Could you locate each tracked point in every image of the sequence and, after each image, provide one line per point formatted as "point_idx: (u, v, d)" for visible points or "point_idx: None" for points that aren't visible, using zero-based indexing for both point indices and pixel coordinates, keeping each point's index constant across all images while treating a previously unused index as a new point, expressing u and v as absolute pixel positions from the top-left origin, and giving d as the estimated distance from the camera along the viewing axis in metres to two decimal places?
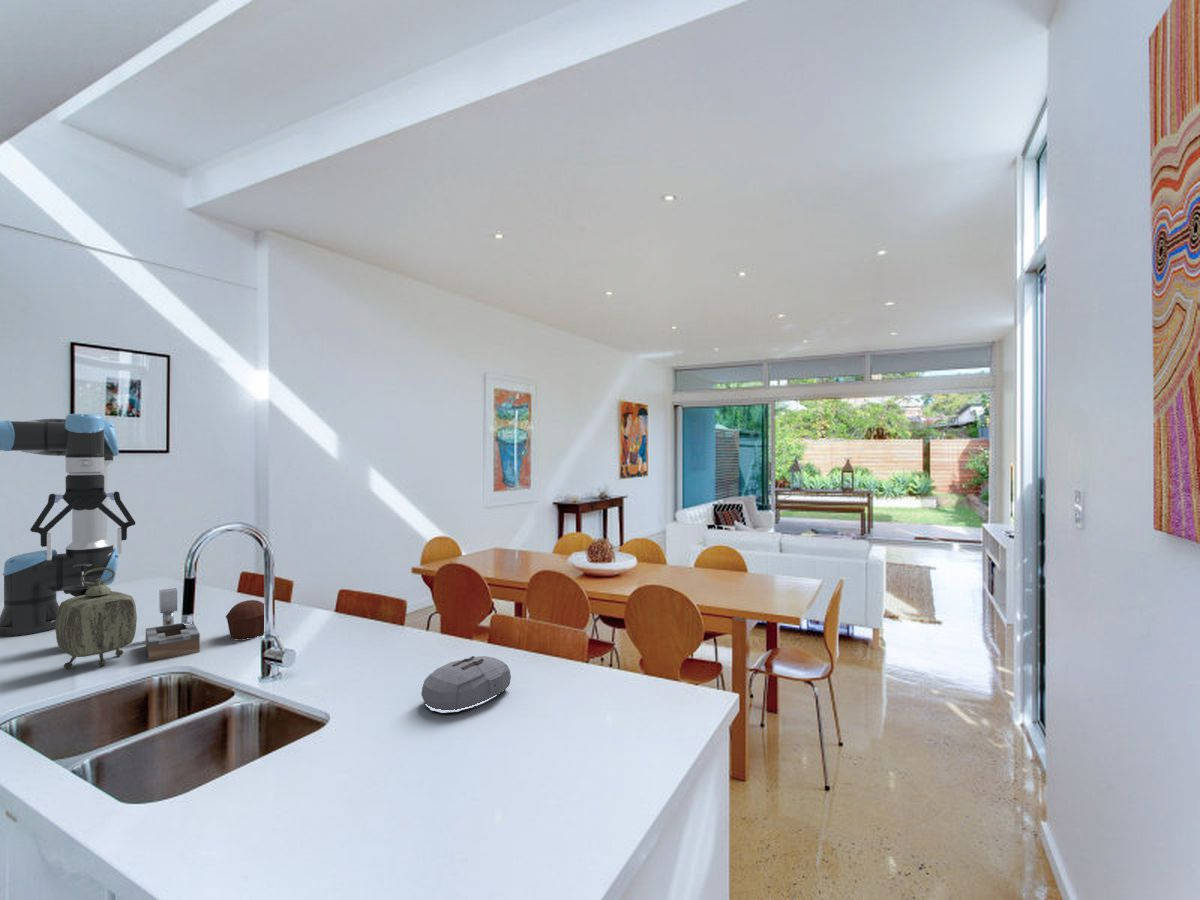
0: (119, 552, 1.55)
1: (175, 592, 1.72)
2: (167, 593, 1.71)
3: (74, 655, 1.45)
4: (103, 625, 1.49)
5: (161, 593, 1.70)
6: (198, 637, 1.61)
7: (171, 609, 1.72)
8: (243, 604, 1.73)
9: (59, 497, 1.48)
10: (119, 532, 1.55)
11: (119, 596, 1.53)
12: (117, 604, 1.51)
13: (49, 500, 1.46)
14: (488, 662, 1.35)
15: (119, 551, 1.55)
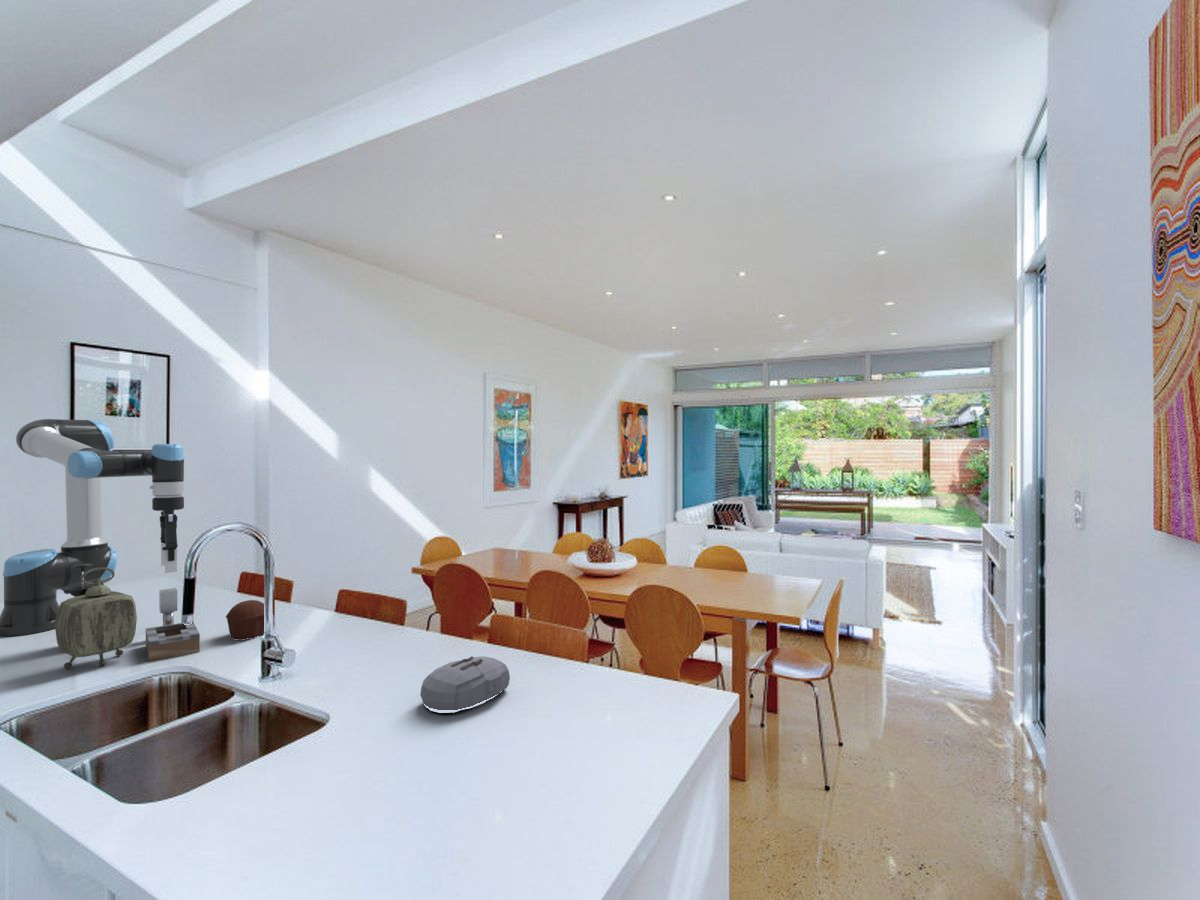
0: (165, 571, 1.66)
1: (175, 592, 1.72)
2: (167, 593, 1.71)
3: (74, 655, 1.45)
4: (103, 625, 1.49)
5: (161, 593, 1.70)
6: (198, 637, 1.61)
7: (171, 609, 1.72)
8: (243, 604, 1.73)
9: None
10: (164, 553, 1.66)
11: (119, 596, 1.53)
12: (117, 604, 1.51)
13: (161, 516, 1.77)
14: (487, 662, 1.35)
15: (165, 570, 1.66)
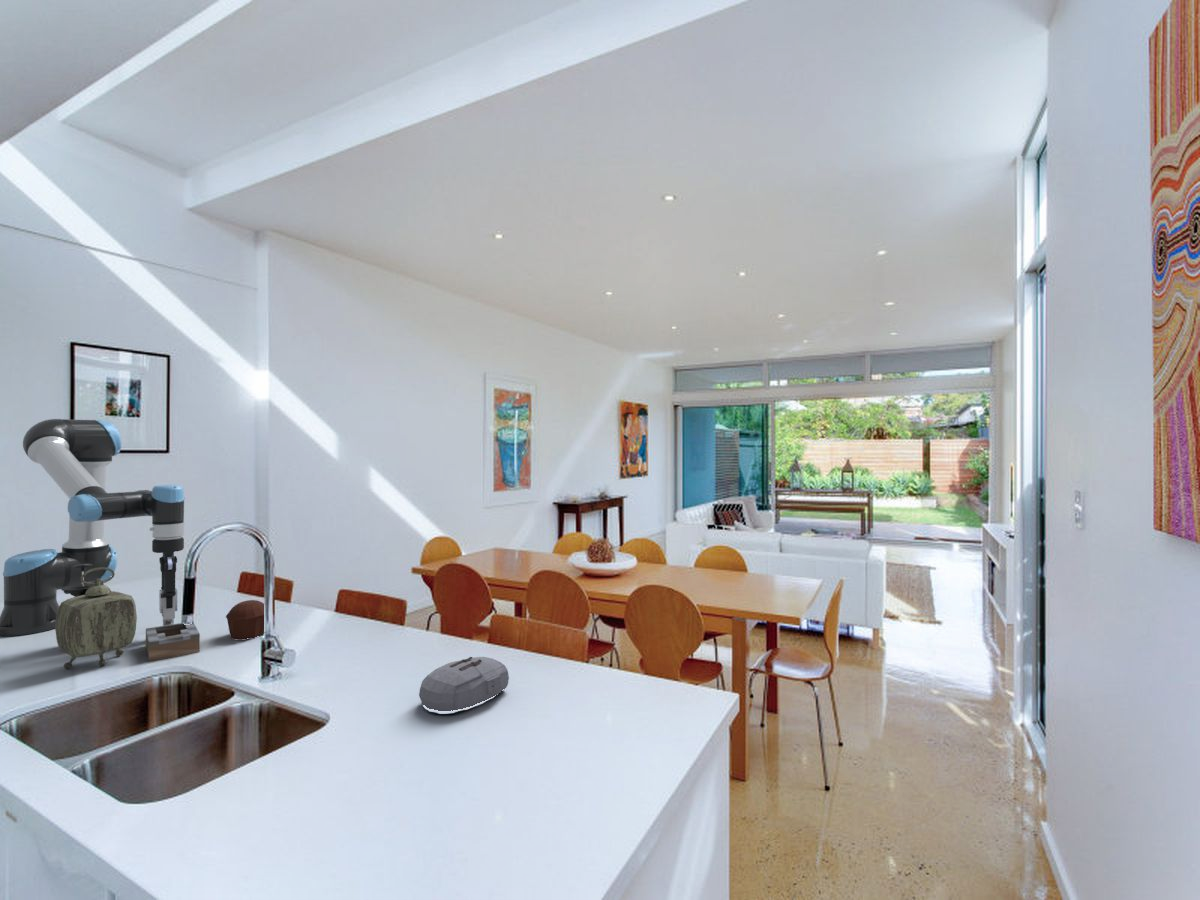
0: (163, 618, 1.70)
1: None
2: None
3: (74, 655, 1.45)
4: (103, 625, 1.49)
5: (161, 593, 1.70)
6: (198, 637, 1.61)
7: None
8: (243, 604, 1.73)
9: None
10: (163, 600, 1.70)
11: (119, 596, 1.53)
12: (117, 604, 1.51)
13: None
14: (486, 663, 1.35)
15: (163, 617, 1.70)
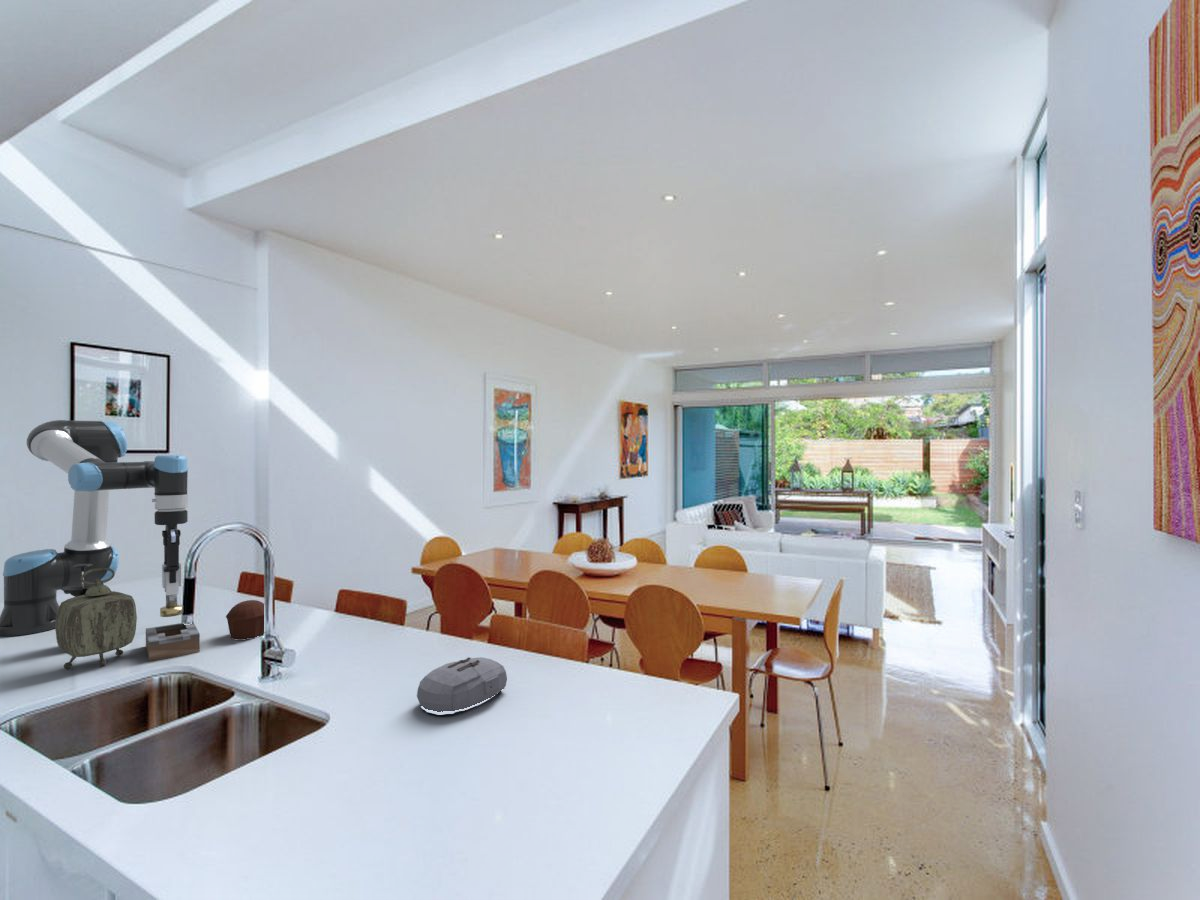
0: (166, 593, 1.63)
1: (179, 566, 1.65)
2: None
3: (74, 655, 1.45)
4: (103, 625, 1.49)
5: (164, 567, 1.63)
6: (198, 637, 1.61)
7: None
8: (243, 604, 1.73)
9: None
10: (166, 574, 1.63)
11: (119, 596, 1.53)
12: (117, 604, 1.51)
13: None
14: (484, 663, 1.35)
15: (166, 592, 1.63)
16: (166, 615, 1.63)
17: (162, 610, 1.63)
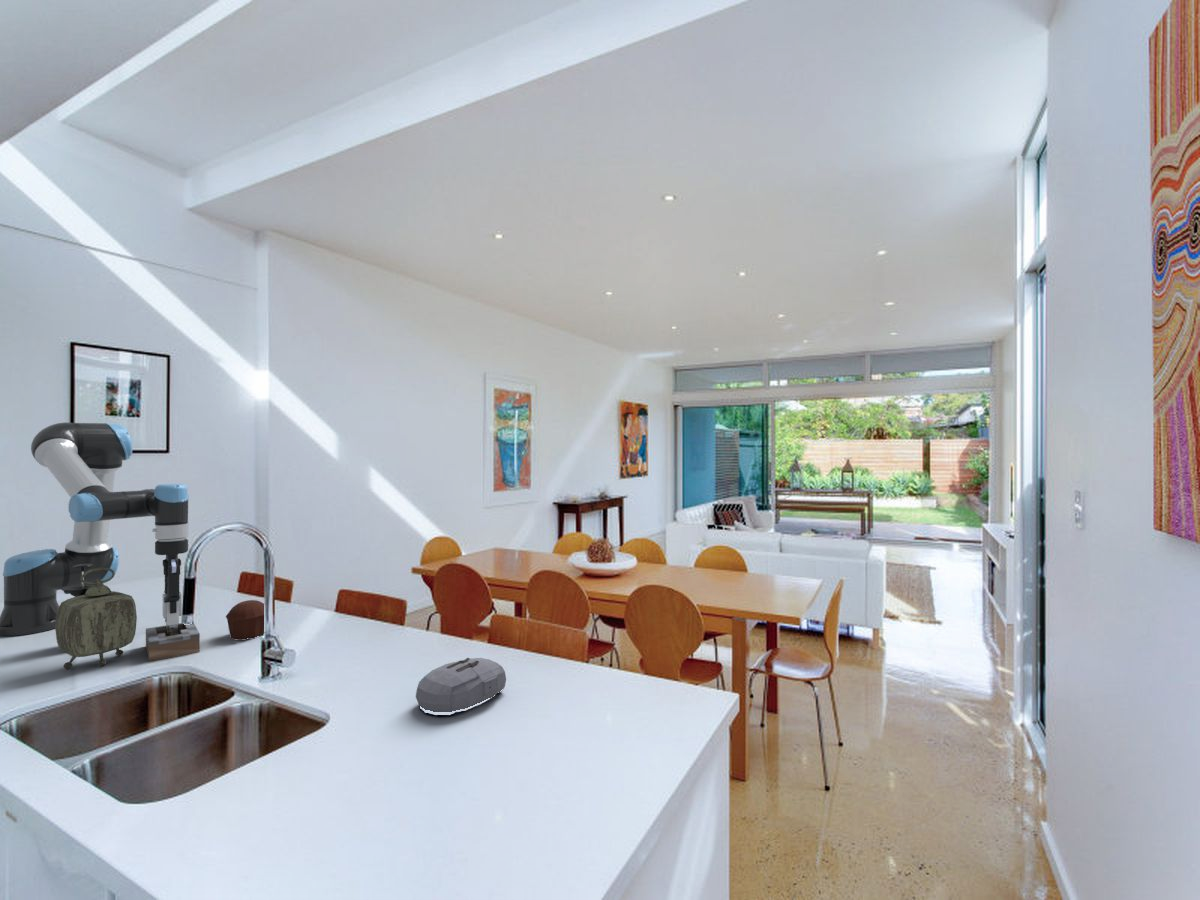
0: None
1: (179, 596, 1.64)
2: None
3: (74, 655, 1.45)
4: (103, 625, 1.49)
5: (164, 597, 1.62)
6: (198, 637, 1.61)
7: None
8: (243, 604, 1.73)
9: None
10: None
11: (119, 596, 1.53)
12: (117, 604, 1.51)
13: None
14: (483, 664, 1.34)
15: None
16: None
17: None
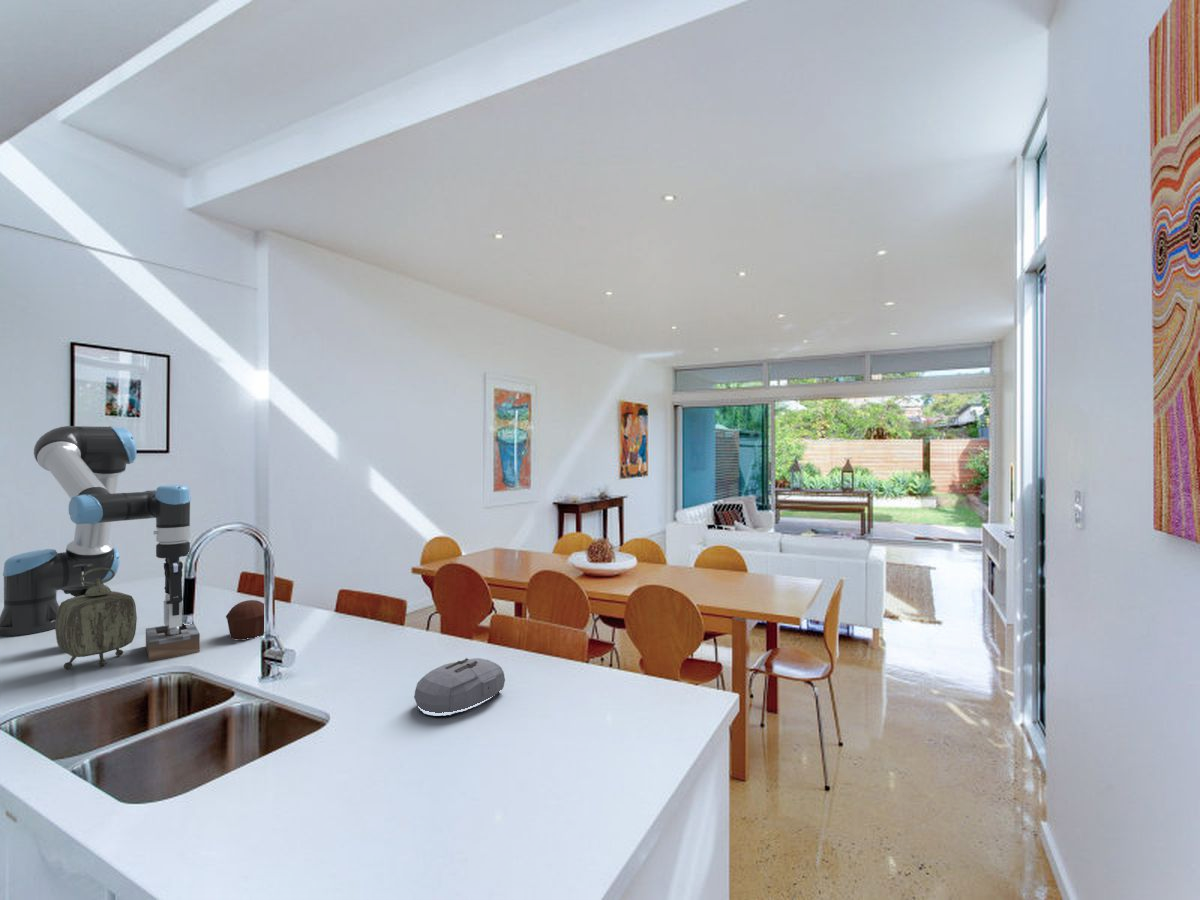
0: (169, 626, 1.56)
1: None
2: None
3: (74, 655, 1.45)
4: (103, 625, 1.49)
5: (166, 604, 1.58)
6: (198, 637, 1.61)
7: None
8: (243, 604, 1.73)
9: None
10: (169, 606, 1.56)
11: (119, 596, 1.53)
12: (117, 604, 1.51)
13: None
14: (482, 664, 1.34)
15: (169, 625, 1.56)
16: None
17: None
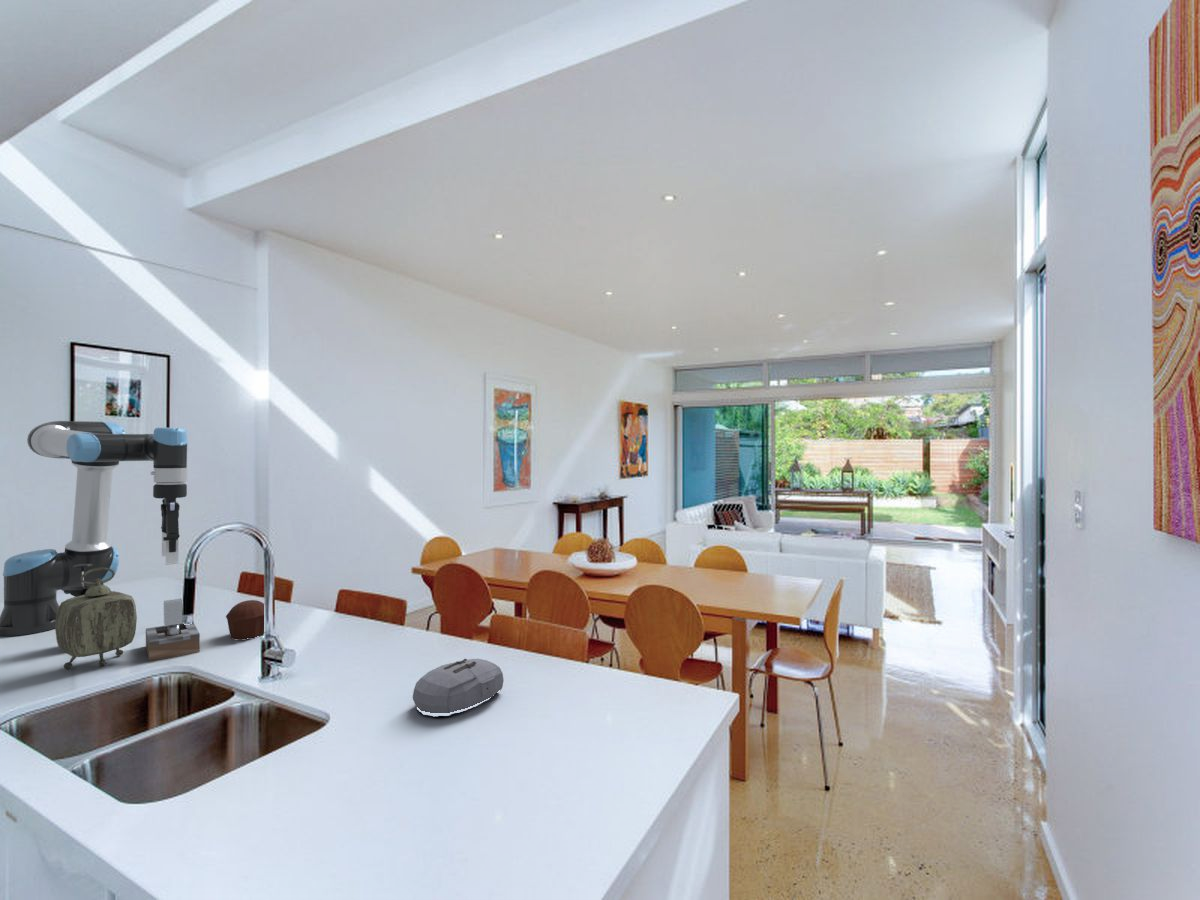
0: None
1: (181, 603, 1.60)
2: (172, 604, 1.59)
3: (74, 655, 1.45)
4: (103, 625, 1.49)
5: (166, 604, 1.58)
6: (198, 637, 1.61)
7: (176, 621, 1.60)
8: (243, 604, 1.73)
9: None
10: (165, 543, 1.57)
11: (119, 596, 1.53)
12: (117, 604, 1.51)
13: (162, 504, 1.67)
14: (480, 665, 1.34)
15: None
16: None
17: None
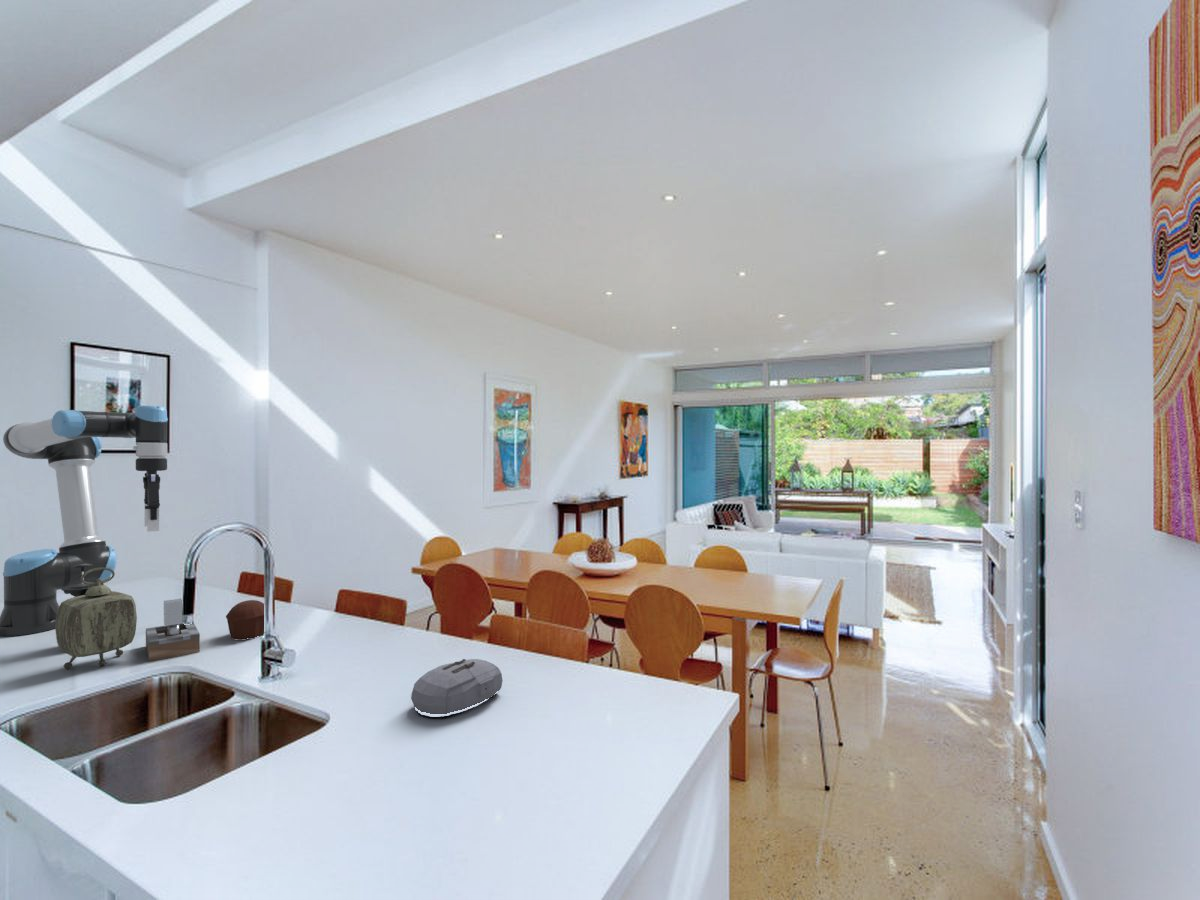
0: (147, 530, 1.69)
1: (181, 603, 1.60)
2: (172, 604, 1.59)
3: (74, 655, 1.45)
4: (103, 625, 1.49)
5: (166, 604, 1.58)
6: (198, 637, 1.61)
7: (176, 621, 1.60)
8: (243, 604, 1.73)
9: None
10: (147, 511, 1.69)
11: (119, 596, 1.53)
12: (117, 604, 1.51)
13: None
14: (479, 665, 1.33)
15: (147, 529, 1.69)
16: None
17: None
